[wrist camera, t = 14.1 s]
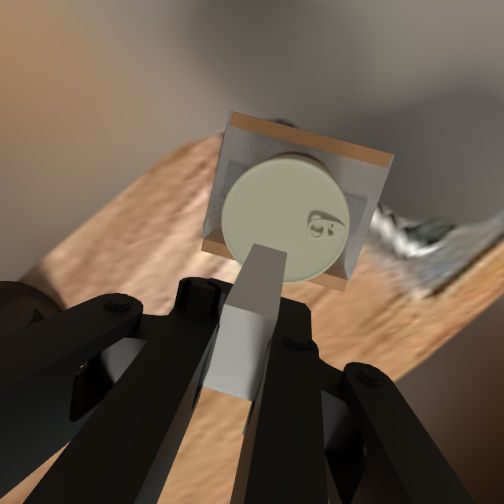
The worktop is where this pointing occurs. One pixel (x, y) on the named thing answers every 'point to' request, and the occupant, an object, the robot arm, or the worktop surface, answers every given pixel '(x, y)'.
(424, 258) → the worktop surface
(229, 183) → the rail holder
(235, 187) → the can
